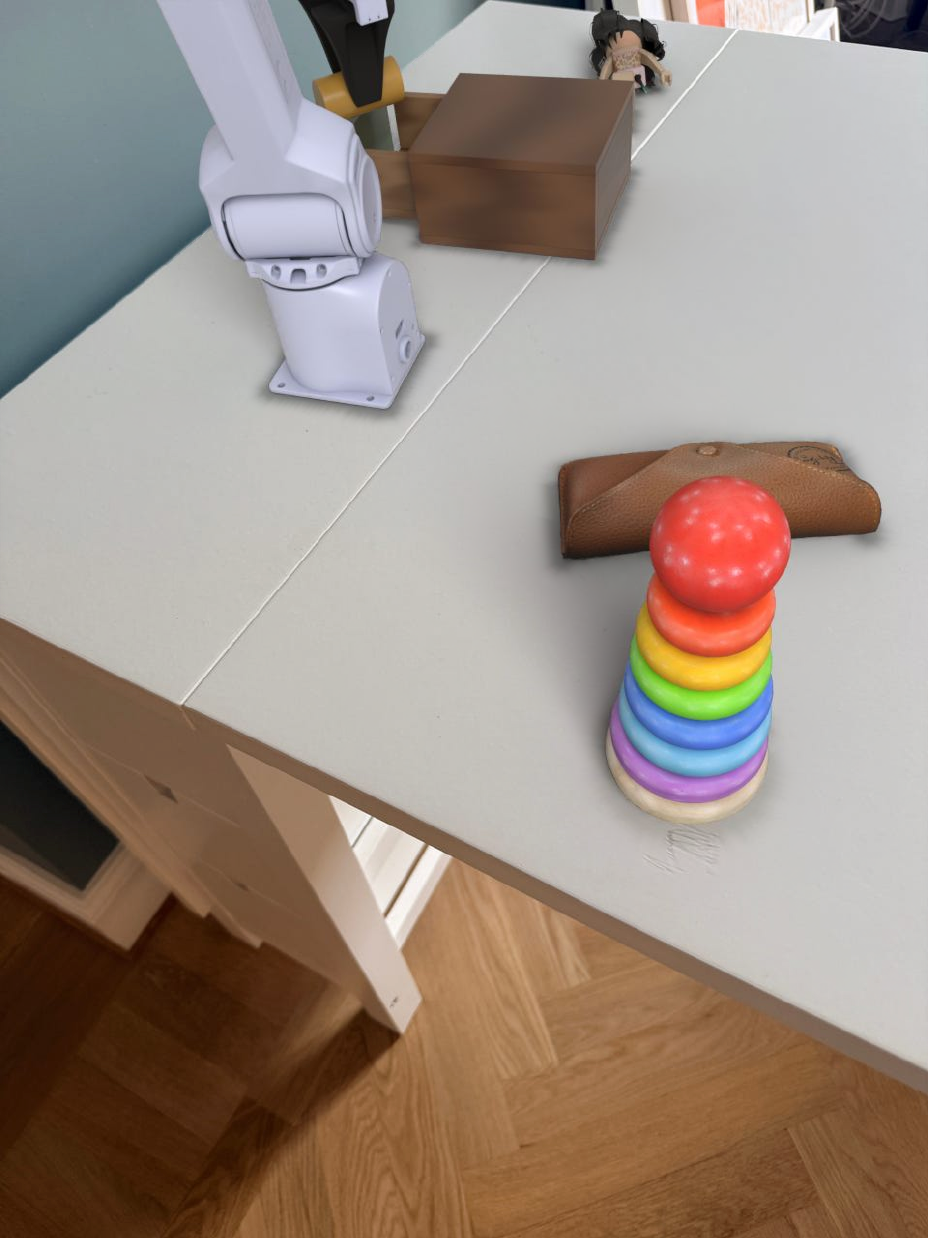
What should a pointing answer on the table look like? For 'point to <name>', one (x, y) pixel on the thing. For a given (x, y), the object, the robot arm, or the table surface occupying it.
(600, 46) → the toy figure
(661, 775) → the stacking toy
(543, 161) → the cabinet
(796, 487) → the sunglasses case
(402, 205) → the drawer
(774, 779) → the table surface
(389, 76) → the yellow cylinder
